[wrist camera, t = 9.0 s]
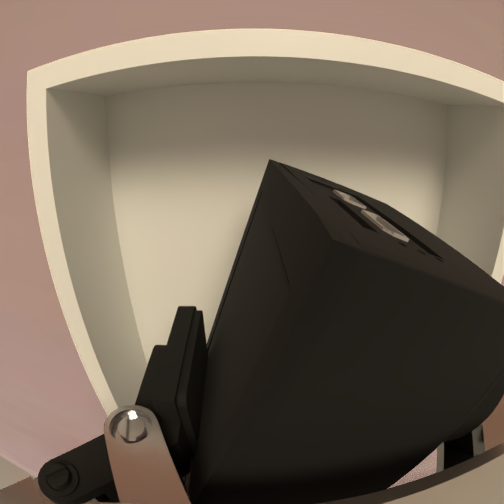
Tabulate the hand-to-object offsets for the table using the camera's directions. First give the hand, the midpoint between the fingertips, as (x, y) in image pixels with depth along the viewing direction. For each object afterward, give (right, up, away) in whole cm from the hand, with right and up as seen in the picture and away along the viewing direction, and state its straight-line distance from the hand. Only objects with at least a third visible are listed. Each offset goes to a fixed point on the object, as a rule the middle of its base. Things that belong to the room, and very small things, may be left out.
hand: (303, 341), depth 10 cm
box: (0, +2, +5) cm, 5 cm away
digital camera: (0, 0, +1) cm, 2 cm away
